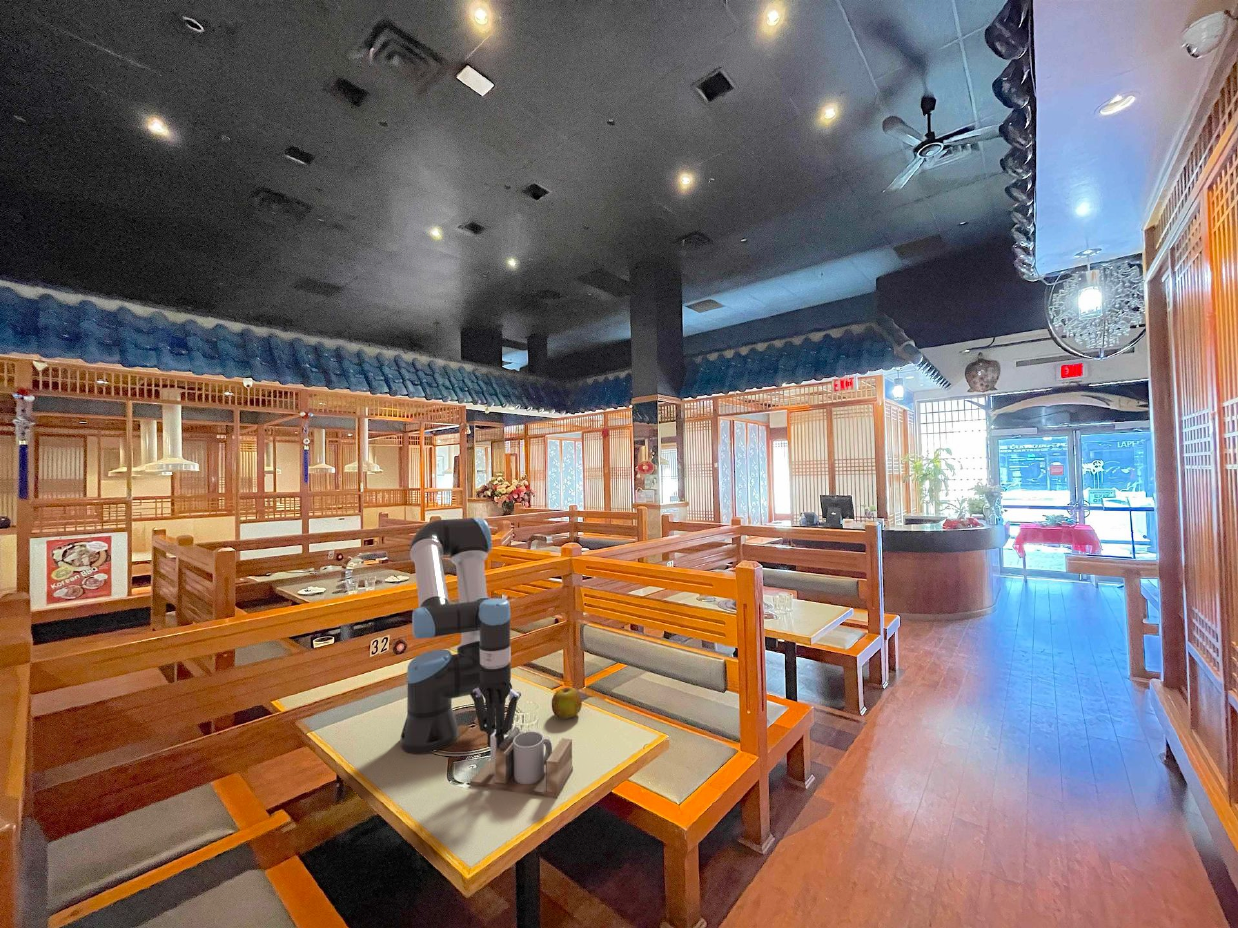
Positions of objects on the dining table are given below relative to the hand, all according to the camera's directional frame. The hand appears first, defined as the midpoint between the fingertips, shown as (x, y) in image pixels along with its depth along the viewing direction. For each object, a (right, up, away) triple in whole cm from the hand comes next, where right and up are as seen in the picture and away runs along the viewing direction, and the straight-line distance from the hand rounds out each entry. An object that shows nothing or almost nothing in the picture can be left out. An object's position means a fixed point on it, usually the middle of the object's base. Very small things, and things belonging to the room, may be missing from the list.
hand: (496, 759), depth 124 cm
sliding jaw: (+4, -2, -1) cm, 4 cm away
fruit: (+15, -4, +29) cm, 33 cm away
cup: (+10, -3, -2) cm, 10 cm away
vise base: (+7, -4, -1) cm, 8 cm away
